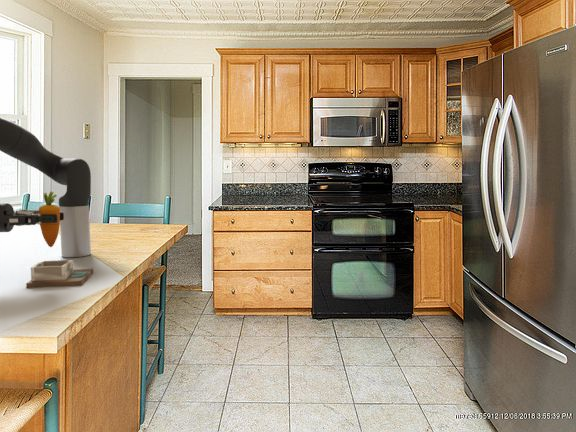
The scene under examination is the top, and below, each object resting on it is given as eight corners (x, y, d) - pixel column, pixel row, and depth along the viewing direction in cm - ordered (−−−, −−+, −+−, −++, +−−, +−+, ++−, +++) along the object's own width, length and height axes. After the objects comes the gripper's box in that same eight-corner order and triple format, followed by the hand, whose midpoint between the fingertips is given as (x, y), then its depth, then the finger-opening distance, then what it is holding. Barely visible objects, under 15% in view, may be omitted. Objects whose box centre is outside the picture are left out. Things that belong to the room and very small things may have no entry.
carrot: (40, 246, 122) (38, 190, 120) (61, 245, 124) (58, 190, 123) (40, 249, 118) (37, 191, 116) (61, 248, 120) (59, 191, 118)
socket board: (44, 274, 129) (43, 258, 128) (93, 272, 131) (92, 256, 131) (26, 287, 115) (25, 269, 114) (81, 285, 117) (80, 267, 117)
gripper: (-25, 205, 110) (51, 205, 113) (0, 201, 124) (67, 201, 127) (-23, 236, 111) (53, 235, 114) (2, 228, 125) (68, 227, 128)
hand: (60, 217), depth 121 cm, fingers closed on carrot, 4 cm apart
